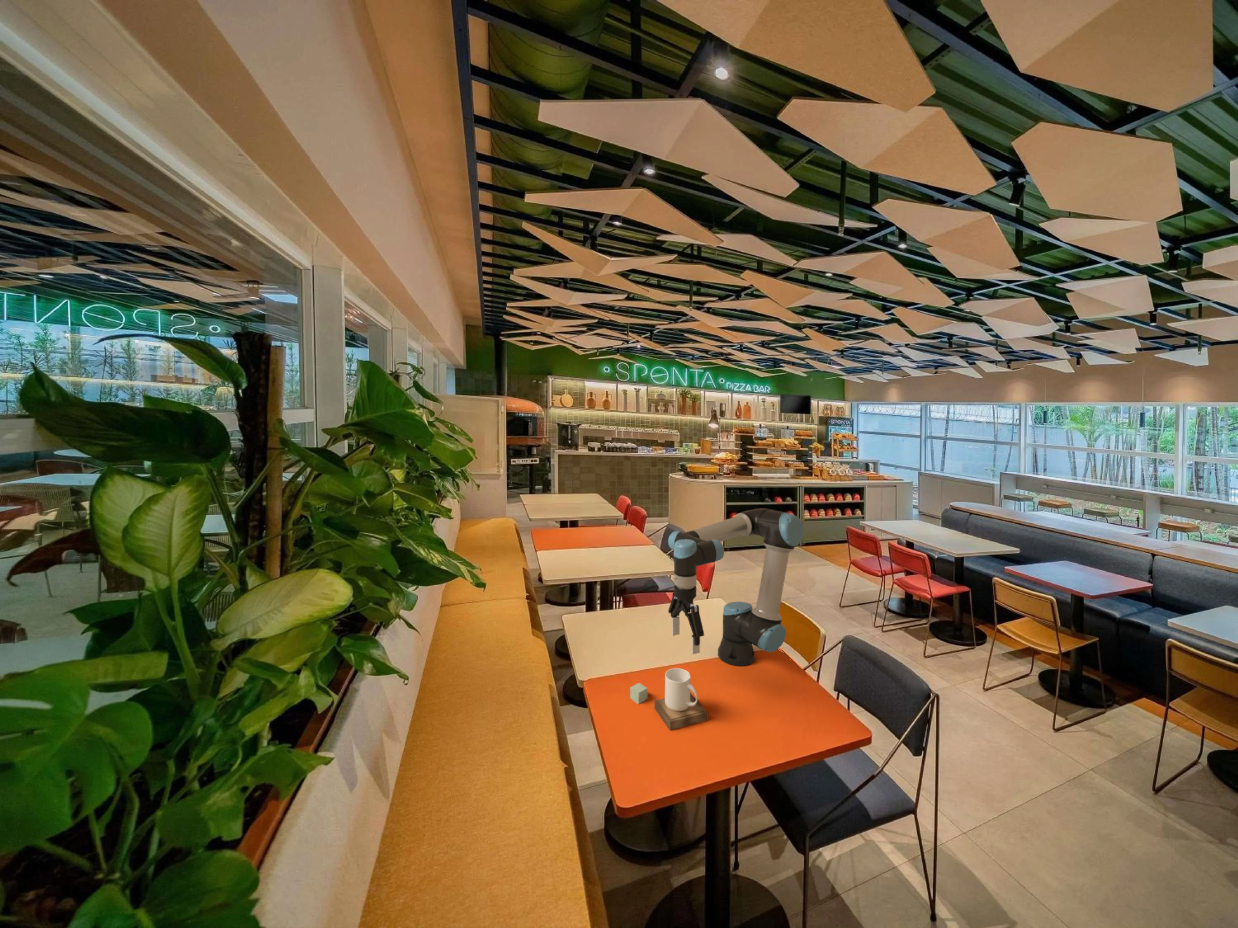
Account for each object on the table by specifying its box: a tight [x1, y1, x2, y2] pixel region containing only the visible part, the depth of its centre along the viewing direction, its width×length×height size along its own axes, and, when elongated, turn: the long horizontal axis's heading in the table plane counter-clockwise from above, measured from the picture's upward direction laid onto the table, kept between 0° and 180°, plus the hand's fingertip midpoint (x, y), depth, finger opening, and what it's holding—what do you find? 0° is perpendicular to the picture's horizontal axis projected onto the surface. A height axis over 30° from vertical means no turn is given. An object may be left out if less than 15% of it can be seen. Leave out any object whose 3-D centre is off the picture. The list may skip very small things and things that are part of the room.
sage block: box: [629, 682, 648, 705], centre depth 169 cm, size 4×4×4 cm
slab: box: [654, 692, 708, 731], centre depth 160 cm, size 14×12×3 cm
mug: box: [664, 667, 698, 711], centre depth 159 cm, size 9×12×11 cm
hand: (685, 643), depth 162 cm, fingers open, 13 cm apart
